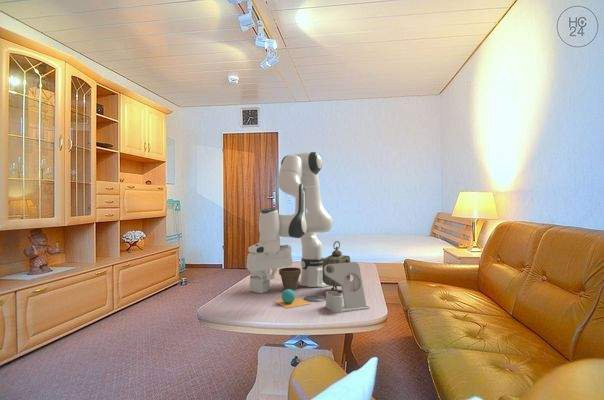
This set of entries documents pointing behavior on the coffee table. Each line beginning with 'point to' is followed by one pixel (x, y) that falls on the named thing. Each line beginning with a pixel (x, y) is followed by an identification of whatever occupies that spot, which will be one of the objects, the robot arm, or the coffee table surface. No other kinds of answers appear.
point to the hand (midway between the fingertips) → (270, 279)
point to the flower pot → (290, 277)
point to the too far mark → (314, 298)
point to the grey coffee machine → (346, 288)
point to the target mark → (295, 303)
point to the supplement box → (259, 281)
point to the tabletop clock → (334, 259)
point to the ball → (288, 296)
